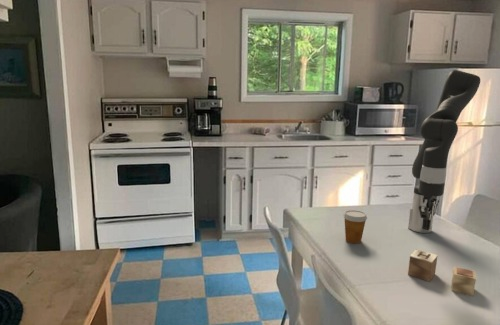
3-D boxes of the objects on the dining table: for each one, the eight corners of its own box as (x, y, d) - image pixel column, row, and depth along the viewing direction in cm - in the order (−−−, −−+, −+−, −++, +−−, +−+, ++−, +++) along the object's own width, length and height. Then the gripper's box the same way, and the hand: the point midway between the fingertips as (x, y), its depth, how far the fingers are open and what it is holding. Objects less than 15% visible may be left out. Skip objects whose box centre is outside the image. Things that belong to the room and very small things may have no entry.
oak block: (451, 291, 119) (454, 273, 118) (451, 283, 125) (454, 265, 123) (473, 296, 117) (476, 278, 116) (472, 287, 122) (475, 270, 121)
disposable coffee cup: (366, 238, 160) (368, 211, 158) (363, 246, 152) (365, 218, 149) (344, 234, 164) (346, 208, 162) (339, 242, 155) (341, 214, 153)
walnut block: (416, 249, 133) (414, 267, 135) (410, 255, 128) (407, 275, 129) (437, 254, 129) (435, 274, 130) (432, 261, 124) (429, 281, 125)
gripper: (427, 174, 130) (421, 221, 134) (413, 180, 121) (407, 231, 125) (450, 178, 125) (443, 227, 129) (438, 185, 116) (431, 237, 120)
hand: (425, 229), depth 127 cm, fingers closed
